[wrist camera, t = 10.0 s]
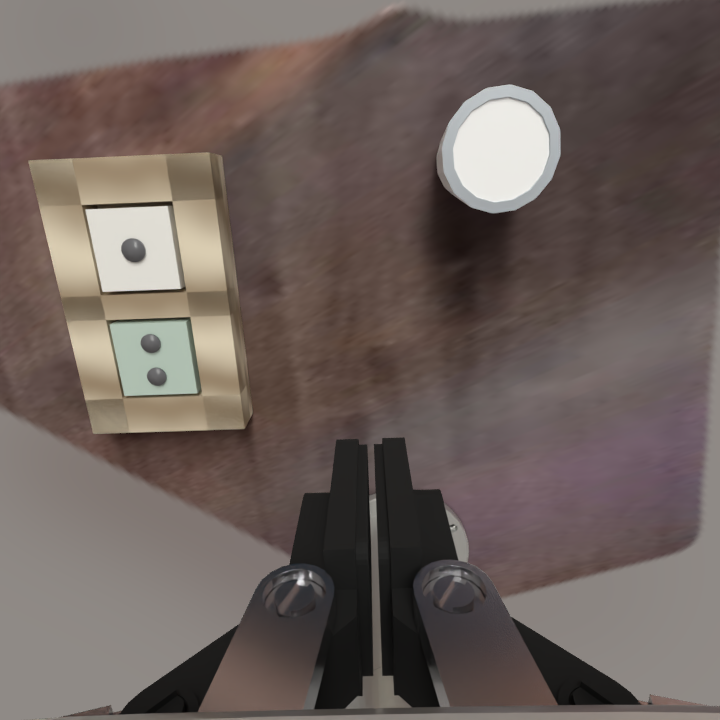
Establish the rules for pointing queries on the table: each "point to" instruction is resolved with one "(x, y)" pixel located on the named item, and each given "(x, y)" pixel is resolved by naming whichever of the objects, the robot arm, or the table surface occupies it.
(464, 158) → the white cup
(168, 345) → the two dot tile
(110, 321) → the tile board
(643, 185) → the table surface
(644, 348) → the table surface
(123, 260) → the one dot tile
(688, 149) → the table surface
